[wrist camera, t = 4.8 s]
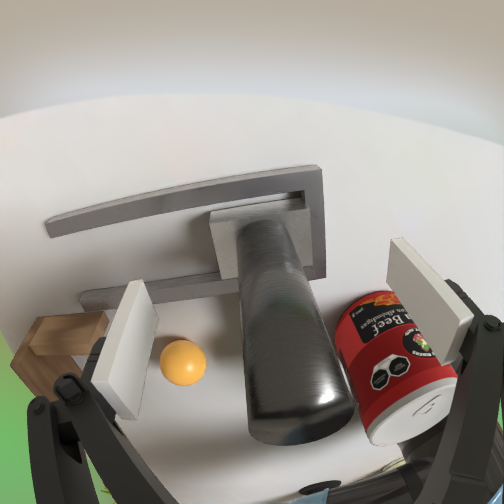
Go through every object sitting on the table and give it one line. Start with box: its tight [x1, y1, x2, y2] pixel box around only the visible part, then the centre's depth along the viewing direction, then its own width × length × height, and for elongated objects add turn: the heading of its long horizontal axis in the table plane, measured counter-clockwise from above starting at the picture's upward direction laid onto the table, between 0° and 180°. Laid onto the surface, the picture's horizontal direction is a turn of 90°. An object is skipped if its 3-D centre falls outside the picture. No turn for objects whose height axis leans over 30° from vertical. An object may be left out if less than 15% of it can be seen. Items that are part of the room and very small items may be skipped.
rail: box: [45, 165, 326, 312], centre depth 20 cm, size 19×8×1 cm, turn 98°
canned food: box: [335, 291, 458, 446], centre depth 21 cm, size 8×8×11 cm
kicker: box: [209, 197, 354, 446], centre depth 17 cm, size 6×14×14 cm, turn 8°
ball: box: [160, 340, 207, 386], centre depth 24 cm, size 4×4×4 cm
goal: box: [10, 311, 145, 414], centre depth 23 cm, size 8×10×6 cm
